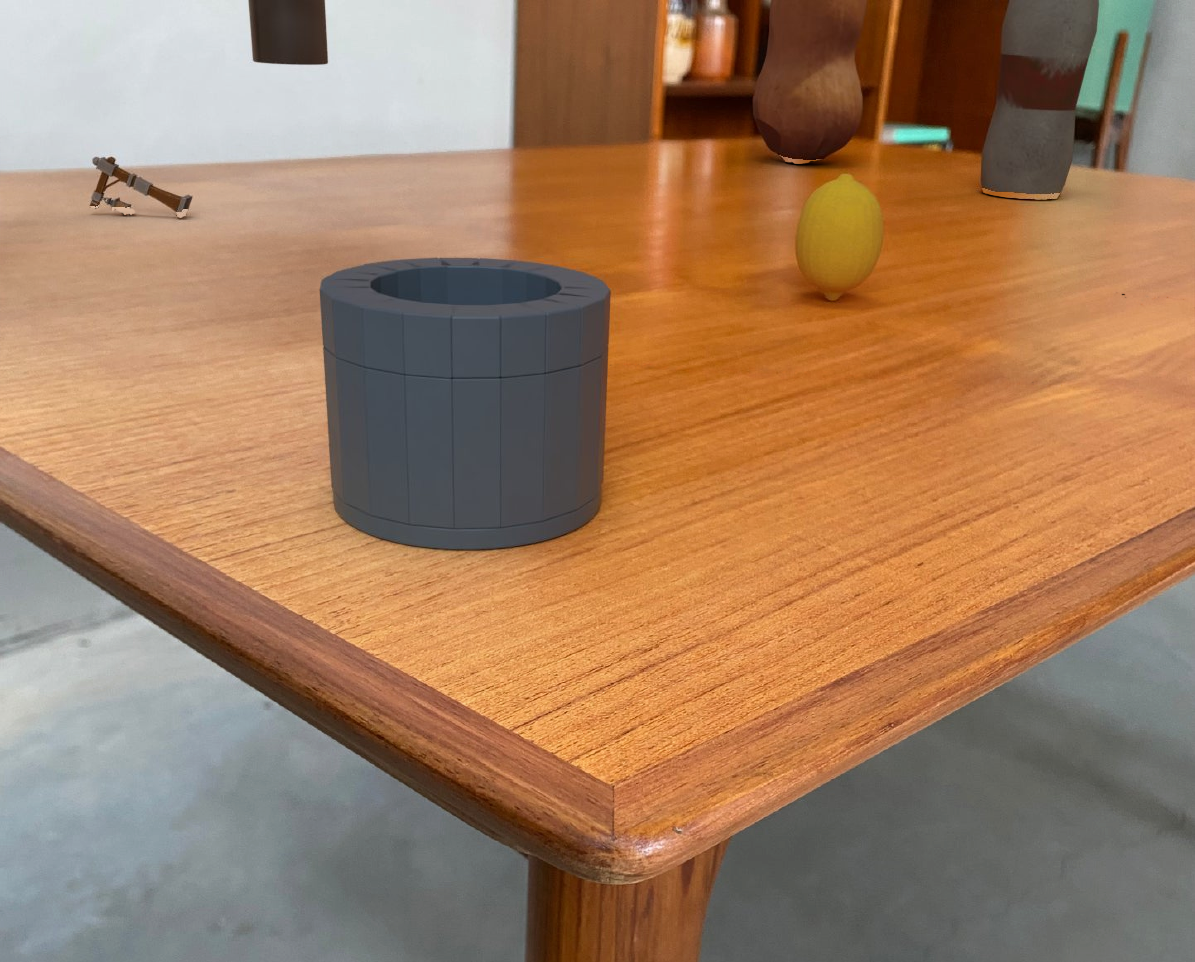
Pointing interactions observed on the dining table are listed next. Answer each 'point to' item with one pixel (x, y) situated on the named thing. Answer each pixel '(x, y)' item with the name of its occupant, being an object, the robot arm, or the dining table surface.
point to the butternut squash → (810, 78)
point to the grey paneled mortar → (465, 399)
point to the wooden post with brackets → (133, 181)
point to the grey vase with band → (1038, 94)
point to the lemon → (839, 236)
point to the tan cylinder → (288, 31)
